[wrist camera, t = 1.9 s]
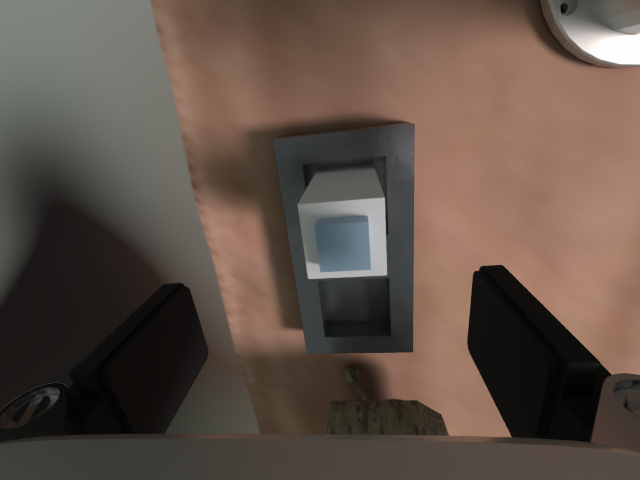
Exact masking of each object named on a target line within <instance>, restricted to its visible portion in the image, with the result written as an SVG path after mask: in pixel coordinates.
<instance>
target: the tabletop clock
mask: <svg viewBox="0 0 640 480" xmlns="http://www.w3.org/2000/svg"><path fill="white" fill-rule="evenodd" d="M344 377H345V379H346V381H347V382H348V383H350V384H353V385H354V388H355V391H356V394H357V397H358V400H359V401H331V404H330V409H329V416H328V424H327V434H336V435H426V436H449V434H448V431H447V429H446V426H445V423H444V420H443V418H442V416H441V414H439V413H437V412H436V411H434V410H432V409H430V408H429V407H427V406H425V405H424V404H422V403H420V402H418V401H417V400H410V401H368V399H367V397H366V395H365V394H364V392H363V390H362V388H361V386H360V384H359V383H358V381H359V380H360V377H361V373H360V371H359V370H358V368H357V367H354V366H350V367H348V368H347V369H346V370H345V373H344Z"/></svg>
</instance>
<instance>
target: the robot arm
mask: <svg viewBox="0 0 640 480" xmlns="http://www.w3.org/2000/svg"><path fill="white" fill-rule="evenodd" d="M540 3H541V7H542V11H543V16H544V18H545V20H546V22H547V24H548V26H549V28H550V30H551V32H552V34H553V35H554V36H555V38H556V39H557V40H558V41H559V42H560V44H561V45H562V46H563V47H564V48H565V49H566V50H567V51H569V52H570V53H572V54H573V55H575V56H576V57H577V58H579V59H581V60H583V61H586V62H589V63H591V64H594V65H597V66H603V67H610V68H629V67H640V0H540ZM561 6H562V7H563V12H562V13H561V10H560V7H561ZM467 343H468V349H469V352H470V354H471V356H472V358H473V360H474V362H475V364H476V366H477V368H478V370H479V372H480V374H481V376H482V378H483V380H484V382H485V384H486V386H487V388H488V390H489V392H490V394H491V396H492V398H493V400H494V402H495V404H496V406H497V408H498V410H499V412H500V414H501V416H502V418H503V420H504V422H505V424H506V426H507V428H508V430H509V432H510V434H511V436H512V437H479V436H426V435H336V434H165V432H166V430H167V428H168V427H169V425H170V423H171V421H172V419H173V418H174V416H175V414H176V412H177V411H178V409H179V407H180V406H181V404H182V402H183V400H184V398H185V397H186V395H187V393H188V391H189V390H190V388H191V386H192V384H193V383H194V381H195V379H196V377H197V376H198V374H199V372H200V370H201V368H202V367H203V365H204V363H205V362H206V359H207V357H208V347H207V344H206V340H205V337H204V334H203V331H202V328H201V324H200V321H199V318H198V314H197V311H196V308H195V305H194V302H193V298H192V295H191V292H190V289H189V288H188V287H185V286H184V284H182V283H172V284H164V285H162V286H161V287H160V288H159V289H158V290H157V291H156V292H155V293H154V294H153V295H152V296H151V297H149V298H148V299H147V300H146V301H145V302H144V303H143V304H142V305H141V306H140V307H139V308H138V309H137V310H135V311H134V312H133V313H132V314H131V315H130V316H129V317H128V318H127V319H126V320H125V321H124V322H123V323H122V324H121V325H119V326H118V327H117V328H116V329H115V330H114V331H113V332H112V333H111V334H110V335H109V336H108V337H107V338H106V339H105V340H103V341H102V342H101V343H100V344H99V345H98V346H97V347H96V348H95V349H94V350H93V351H92V352H91V353H90V354H89V355H87V356H86V357H85V358H84V359H83V360H82V361H81V362H80V363H79V364H78V365H77V366H76V367H75V368H74V369H73V370H72V371H70V372H69V375H70V377H71V379H72V381H73V384H72V385H71V386H70V387H69V388H67V386H66V385H64V384H63V383H50V384H45V385H42V386H40V387H37V388H34V389H32V390H30V391H28V392H26V393H24V394H22V395H21V396H19V397H18V398H16V399H14V400H13V401H11V402H10V403H9V404H8V405H6V406H5V407H4V408H3V409H2V410H1V411H0V480H640V375H635V374H627V373H623V374H614V375H611V374H610V373H609V372H608V371H607V370H606V369H605V368H604V367H603V366H602V365H601V364H600V362H599V361H598V360H597V359H596V358H595V357H594V356H593V355H592V354H591V353H590V352H589V351H588V350H587V349H586V348H585V347H584V346H583V345H582V344H581V343H580V342H579V341H578V340H577V339H576V338H575V337H574V336H573V335H572V334H571V333H570V332H569V331H568V330H567V329H566V328H565V327H564V326H563V325H562V324H561V323H560V322H559V321H558V320H557V319H556V318H555V317H554V316H553V315H552V314H551V313H550V312H549V311H548V310H547V309H546V308H545V307H544V306H543V305H542V304H541V303H540V302H539V301H538V300H537V299H536V298H535V297H534V296H533V295H532V294H531V293H530V292H529V291H528V290H527V289H526V288H525V287H524V286H523V285H522V284H521V283H520V282H519V281H518V280H517V279H516V278H515V277H514V276H513V275H512V274H511V273H510V272H509V271H508V270H507V269H506V268H505V267H504V266H502V265H493V266H481V267H480V269H479V271H475V272H474V274H473V282H472V294H471V305H470V317H469V329H468V341H467Z"/></svg>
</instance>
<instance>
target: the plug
mask: <svg viewBox="0 0 640 480" xmlns="http://www.w3.org/2000/svg"><path fill="white" fill-rule="evenodd" d="M297 205H298V212H299V219H300V226H301V233H302V240H303V247H304V254H305V261H306V268H307V275H308V279H321V278H342V277H364V276H385V275H387V253H386V220H385V197H384V194H383V191H382V188H381V185H380V182H379V179H378V176H377V174H376V171H375V168H374V165H373V164H364V165H353V166H343V167H332V168H322V169H317V171H316V173H315V175H314V176H313V178H312V180H311V182H310V183H309V185H308V187H307V189H306V190H305V192H304V194H303V196H302V197H301V199H300V201H299V203H298V204H297Z"/></svg>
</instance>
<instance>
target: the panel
mask: <svg viewBox="0 0 640 480" xmlns="http://www.w3.org/2000/svg"><path fill="white" fill-rule="evenodd" d="M272 141H273V147H274V153H275V159H276V165H277V172H278V178H279V184H280V190H281V196H282V202H283V209H284V215H285V221H286V227H287V233H288V239H289V246H290V252H291V258H292V264H293V270H294V276H295V283H296V289H297V295H298V301H299V307H300V313H301V319H302V326H303V332H304V338H305V344H306V350H307V354H323V353H395V352H413V260H414V124H413V123H409V122H400V123H391V124H382V125H373V126H364V127H355V128H346V129H337V130H328V131H319V132H310V133H301V134H292V135H283V136H280V137H277V138H275V139H272ZM364 164H373V165H374V168H375V171H376V174H377V176H378V179H379V182H380V185H381V188H382V191H383V194H384V197H385V220H386V253H387V275H385V276H364V277H342V278H321V279H308V275H307V268H306V261H305V254H304V247H303V240H302V233H301V226H300V219H299V212H298V205H297V204H298V203H299V201H300V199H301V197H302V196H303V194H304V192H305V190H306V189H307V187H308V185H309V183H310V182H311V180H312V178H313V176H314V175H315V173H316V171H317V169H322V168H332V167H343V166H353V165H364Z"/></svg>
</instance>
